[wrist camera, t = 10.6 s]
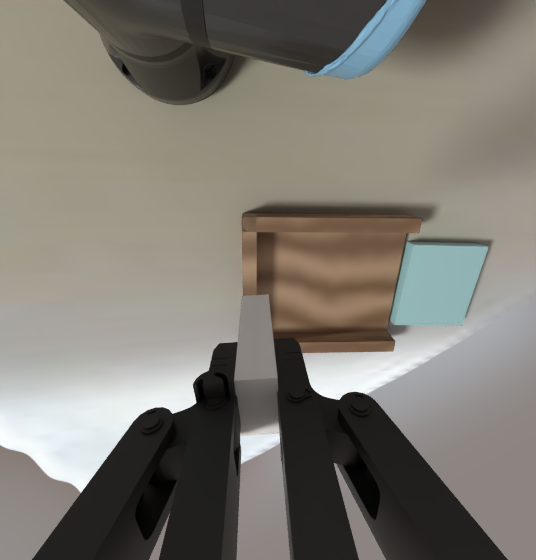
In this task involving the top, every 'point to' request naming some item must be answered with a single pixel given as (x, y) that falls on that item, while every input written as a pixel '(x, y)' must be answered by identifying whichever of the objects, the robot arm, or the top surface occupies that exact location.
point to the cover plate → (436, 283)
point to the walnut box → (326, 276)
